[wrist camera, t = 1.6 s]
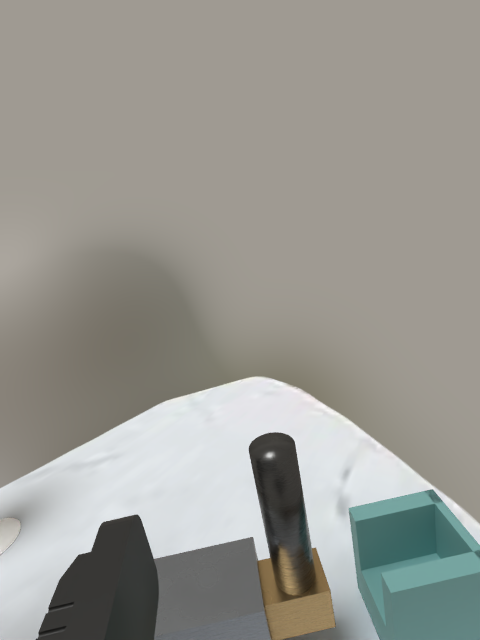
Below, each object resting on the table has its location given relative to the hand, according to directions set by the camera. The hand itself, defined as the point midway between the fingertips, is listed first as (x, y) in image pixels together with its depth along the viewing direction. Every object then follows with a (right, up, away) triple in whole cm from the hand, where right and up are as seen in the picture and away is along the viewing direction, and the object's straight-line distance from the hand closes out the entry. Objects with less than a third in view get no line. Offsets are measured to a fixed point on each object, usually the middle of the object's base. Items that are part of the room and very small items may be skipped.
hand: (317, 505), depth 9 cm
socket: (+11, -16, +17) cm, 26 cm away
